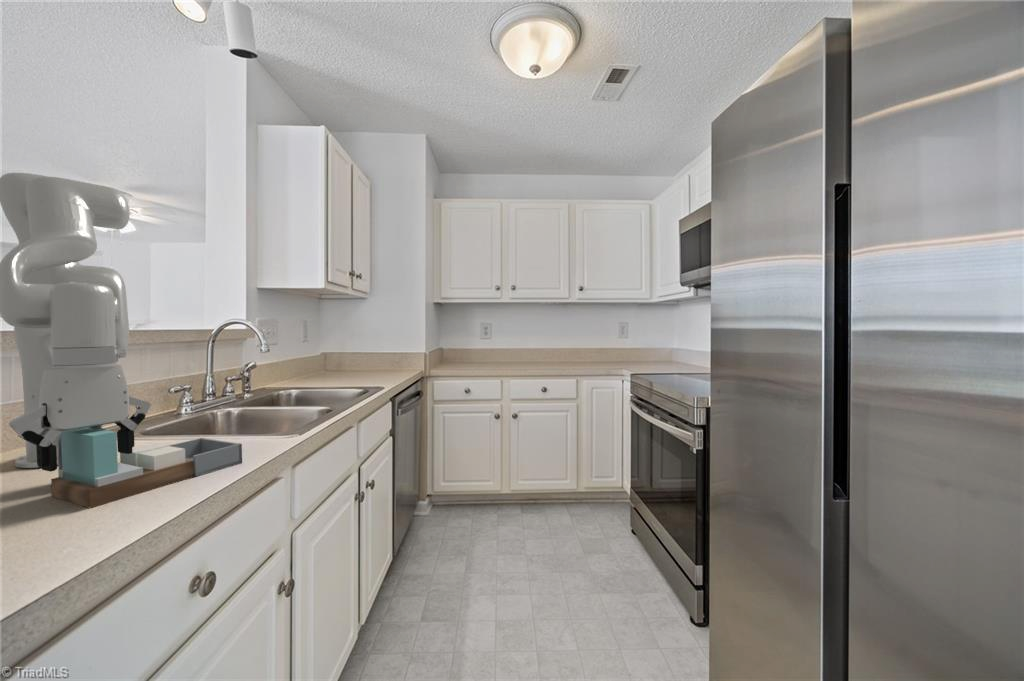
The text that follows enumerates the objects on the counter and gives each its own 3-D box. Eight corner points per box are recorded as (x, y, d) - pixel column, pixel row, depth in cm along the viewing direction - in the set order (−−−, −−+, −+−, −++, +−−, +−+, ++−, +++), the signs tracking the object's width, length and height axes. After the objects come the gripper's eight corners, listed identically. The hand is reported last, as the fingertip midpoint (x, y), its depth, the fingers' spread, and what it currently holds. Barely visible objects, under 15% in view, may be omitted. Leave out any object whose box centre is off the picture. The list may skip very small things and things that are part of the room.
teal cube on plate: (59, 477, 72) (57, 430, 71) (104, 466, 77) (103, 422, 77) (98, 486, 67) (96, 436, 67) (143, 474, 72) (141, 428, 72)
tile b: (137, 467, 77) (137, 453, 76) (169, 459, 81) (168, 446, 81) (154, 470, 75) (153, 456, 75) (185, 462, 79) (185, 448, 79)
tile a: (120, 463, 79) (119, 450, 79) (151, 455, 83) (151, 443, 83) (135, 466, 77) (135, 452, 77) (167, 458, 81) (166, 445, 81)
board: (51, 496, 71) (51, 479, 71) (156, 468, 85) (155, 454, 84) (90, 508, 66) (89, 489, 66) (194, 476, 80) (193, 460, 80)
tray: (154, 468, 85) (154, 448, 85) (202, 455, 93) (201, 437, 93) (195, 476, 80) (195, 455, 80) (242, 462, 88) (241, 443, 88)
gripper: (135, 355, 79) (138, 445, 80) (-4, 362, 63) (1, 475, 64) (159, 355, 77) (162, 449, 77) (20, 363, 61) (25, 481, 61)
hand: (89, 460), depth 70 cm, fingers open, 9 cm apart
